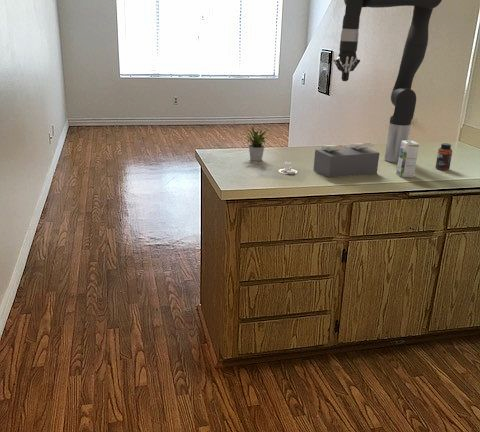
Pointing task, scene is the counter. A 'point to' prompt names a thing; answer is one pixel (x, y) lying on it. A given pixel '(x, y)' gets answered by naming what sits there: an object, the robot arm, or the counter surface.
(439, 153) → the supplement bottle
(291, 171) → the teacup and saucer
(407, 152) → the syrup box
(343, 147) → the sage rocker
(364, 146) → the white flat box
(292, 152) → the counter surface
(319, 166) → the switch box
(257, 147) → the house plant
